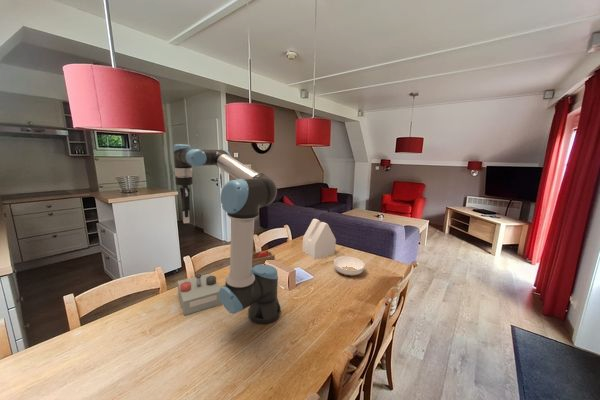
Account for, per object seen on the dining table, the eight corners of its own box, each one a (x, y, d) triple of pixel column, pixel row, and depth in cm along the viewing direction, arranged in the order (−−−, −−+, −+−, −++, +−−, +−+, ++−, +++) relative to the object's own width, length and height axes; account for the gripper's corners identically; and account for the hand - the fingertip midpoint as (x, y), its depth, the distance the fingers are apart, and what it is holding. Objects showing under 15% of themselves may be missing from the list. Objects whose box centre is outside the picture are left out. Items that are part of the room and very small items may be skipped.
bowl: (367, 270, 159) (368, 261, 158) (357, 282, 143) (358, 273, 142) (340, 262, 169) (340, 253, 168) (328, 273, 153) (328, 264, 152)
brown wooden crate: (274, 262, 166) (274, 255, 165) (251, 267, 156) (251, 260, 155) (268, 256, 174) (268, 250, 173) (245, 261, 164) (245, 254, 163)
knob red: (192, 302, 119) (191, 285, 117) (182, 305, 116) (180, 288, 114) (191, 297, 123) (190, 280, 121) (180, 299, 120) (179, 283, 118)
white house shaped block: (314, 259, 172) (316, 225, 167) (302, 251, 185) (303, 220, 180) (334, 254, 182) (337, 222, 178) (322, 247, 195) (324, 217, 190)
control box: (222, 304, 119) (221, 291, 118) (184, 315, 110) (183, 301, 108) (211, 284, 135) (211, 273, 134) (178, 293, 126) (177, 281, 125)
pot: (202, 286, 121) (201, 275, 120) (196, 287, 119) (196, 277, 118) (201, 284, 123) (200, 273, 122) (195, 285, 122) (195, 274, 120)
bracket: (266, 260, 168) (266, 249, 167) (268, 263, 164) (268, 252, 163) (249, 262, 163) (249, 252, 162) (251, 265, 159) (250, 254, 158)
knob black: (217, 294, 125) (217, 279, 123) (208, 297, 122) (207, 281, 121) (215, 290, 129) (214, 274, 127) (205, 292, 126) (205, 277, 125)
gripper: (194, 177, 115) (196, 225, 120) (189, 175, 125) (192, 218, 130) (177, 178, 111) (180, 227, 115) (173, 175, 121) (176, 220, 126)
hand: (186, 222), depth 123 cm, fingers closed
